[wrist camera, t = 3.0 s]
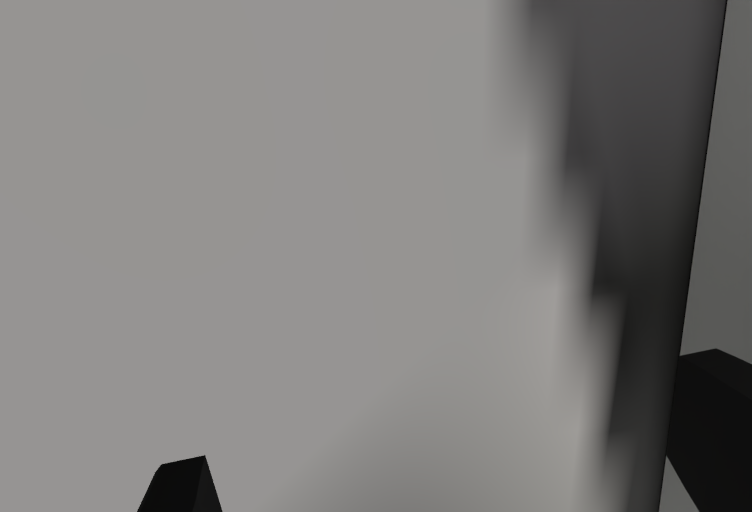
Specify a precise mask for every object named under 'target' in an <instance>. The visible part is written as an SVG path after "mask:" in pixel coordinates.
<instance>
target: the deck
mask: <svg viewBox="0 0 752 512" xmlns="http://www.w3.org/2000/svg"><path fill="white" fill-rule="evenodd" d="M714 348H717V349H719V350H721V351H724V352H726V353H728V354H731V355H733V356H735V357H737V358H740V359H742V360H744V361H746V362H748V363H750V364H752V0H728V1H727V9H726V16H725V24H724V31H723V38H722V46H721V53H720V61H719V68H718V76H717V83H716V90H715V98H714V105H713V113H712V120H711V128H710V135H709V142H708V150H707V157H706V165H705V172H704V180H703V187H702V195H701V202H700V209H699V217H698V224H697V232H696V239H695V247H694V254H693V261H692V269H691V276H690V284H689V291H688V299H687V306H686V313H685V321H684V328H683V336H682V343H681V351H680V356H681V355H686V354H691V353H695V352H700V351H705V350H710V349H714ZM659 512H699V511H698V509H697V507H696V506H695V504H694V502H693V501H692V499H691V497H690V496H689V494H688V493H687V491H686V489H685V488H684V486H683V484H682V482H681V481H680V479H679V477H678V475H677V473H676V472H675V470H674V468H673V466H672V465H671V463H670V461H669V459H668V458H667V456H666V462H665V470H664V477H663V484H662V492H661V499H660V507H659Z"/></svg>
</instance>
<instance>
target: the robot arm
mask: <svg viewBox="0 0 752 512" xmlns="http://www.w3.org/2000/svg"><path fill="white" fill-rule="evenodd" d="M666 456H667V458H668V459H669V461H670V463H671V465H672V466H673V468H674V470H675V472H676V473H677V475H678V477H679V479H680V481H681V482H682V484H683V486H684V488H685V489H686V491H687V493H688V494H689V496H690V497H691V499H692V501H693V502H694V504H695V506H696V507H697V509H698V511H699V512H752V364H750V363H748V362H746V361H744V360H742V359H740V358H737V357H735V356H733V355H731V354H728V353H726V352H724V351H721V350H719V349H717V348H714V349H710V350H705V351H700V352H695V353H691V354H686V355H681V356H679V360H678V368H677V375H676V383H675V391H674V398H673V406H672V413H671V421H670V429H669V436H668V444H667V451H666ZM137 512H222V509H221V505H220V502H219V499H218V496H217V493H216V489H215V486H214V483H213V479H212V476H211V473H210V470H209V466H208V464H207V460H206V457H205V455H204V456H200V457H195V458H190V459H186V460H180V461H176V462H171V463H167V464H162V465H161V466H160V467H159V468H158V470H157V471H156V472H155V474H154V476H153V479H152V481H151V483H150V485H149V487H148V490H147V492H146V494H145V496H144V498H143V500H142V502H141V505H140V507H139V509H138V511H137Z"/></svg>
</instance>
